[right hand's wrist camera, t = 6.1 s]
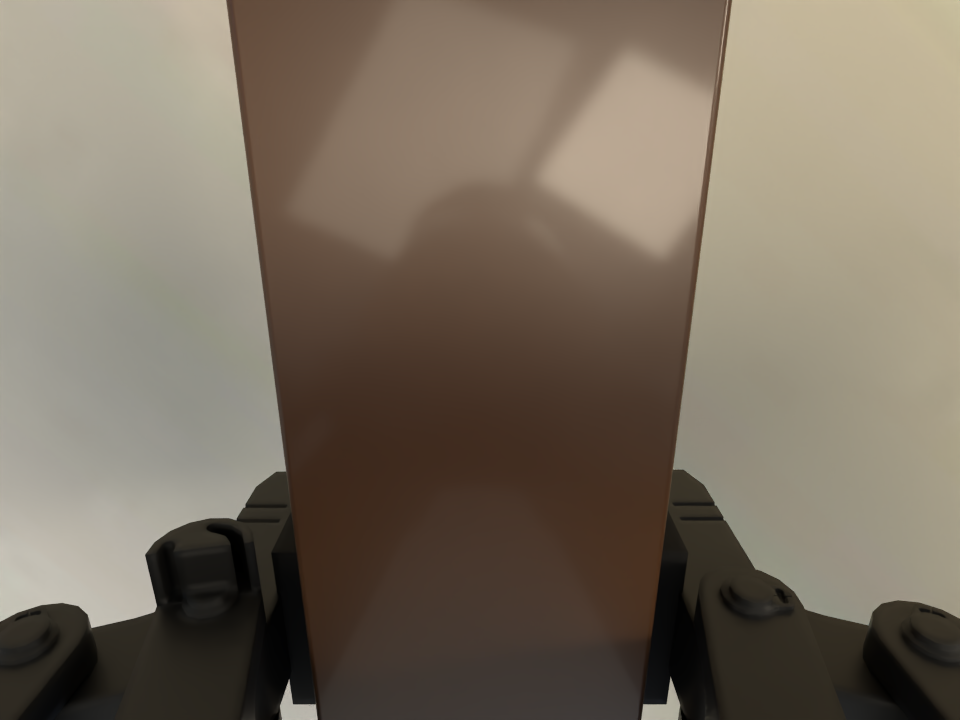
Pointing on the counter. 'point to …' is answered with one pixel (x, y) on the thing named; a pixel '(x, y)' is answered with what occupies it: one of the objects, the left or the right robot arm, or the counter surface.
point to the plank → (479, 333)
